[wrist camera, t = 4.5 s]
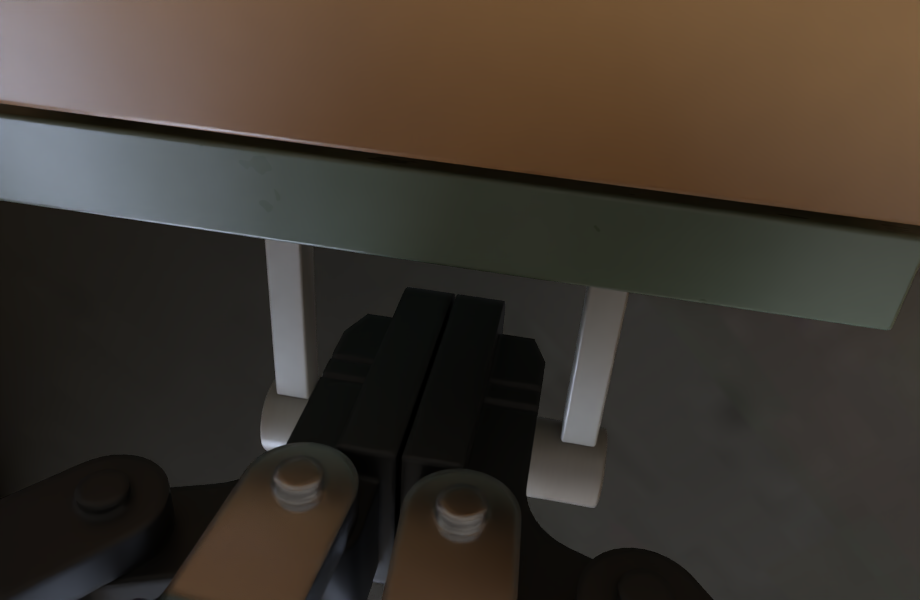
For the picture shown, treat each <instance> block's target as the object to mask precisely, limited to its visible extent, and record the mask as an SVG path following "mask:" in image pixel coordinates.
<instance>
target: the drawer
mask: <svg viewBox="0 0 920 600" xmlns="http://www.w3.org/2000/svg"><path fill="white" fill-rule="evenodd" d="M0 200H2V201H9V202H15V203H22V204H29V205H36V206H43V207H50V208H56V209H63V210H70V211H77V212H84V213H90V214H97V215H104V216H111V217H118V218H125V219H131V220H138V221H145V222H152V223H159V224H165V225H172V226H179V227H186V228H193V229H200V230H206V231H213V232H220V233H227V234H234V235H240V236H247V237H254V238H261V239H265V249H266V262H267V274H268V287H269V300H270V313H271V325H272V338H273V351H274V364H275V377H276V379H275V380H274V381H273V383H272V385H271V387H270V389H269V391H268V393H267V396H266V399H265V402H264V406H263V410H262V416H261V424H260V437H261V443H262V446H263V448H264V449H266V450H267V451H269V450H271V449H273V448H276V447H279V446H282V445H285V444H286V443H287V441H288V439H289V437H290V435H291V433H292V431H293V430H294V428H295V426H296V424H297V422H298V420H299V418H300V416H301V414H302V412H303V410H304V408H305V406H306V404H307V402H308V401H309V399H310V397H311V395H312V393H313V391H314V389H315V387H316V385H317V383H318V355H317V330H316V305H315V280H314V256H313V246H316V247H322V248H329V249H336V250H343V251H350V252H356V253H363V254H370V255H377V256H384V257H391V258H397V259H404V260H411V261H418V262H425V263H431V264H438V265H445V266H452V267H459V268H466V269H472V270H479V271H486V272H493V273H500V274H506V275H513V276H520V277H527V278H534V279H541V280H547V281H554V282H561V283H568V284H575V285H581V286H587V288H586V293H585V299H584V304H583V310H582V315H581V321H580V326H579V332H578V337H577V343H576V348H575V354H574V359H573V365H572V370H571V376H570V381H569V387H568V392H567V398H566V403H565V409H564V414H563V421H560V420H554V419H548V418H542V417H537V422H536V429H535V435H534V442H533V449H532V455H531V462H530V469H529V475H528V482H527V491H526V496H528V497H534V498H539V499H545V500H551V501H556V502H562V503H568V504H574V505H579V506H585V507H591V508H594V507H596V506H597V504H598V501H599V498H600V494H601V489H602V484H603V478H604V471H605V464H606V454H607V431H606V429H605V428H603V427H600V425H601V420H602V416H603V411H604V406H605V402H606V397H607V393H608V388H609V383H610V379H611V374H612V370H613V365H614V360H615V356H616V351H617V346H618V342H619V337H620V333H621V328H622V323H623V319H624V314H625V310H626V305H627V300H628V296H629V293H636V294H643V295H650V296H657V297H663V298H670V299H677V300H684V301H691V302H697V303H704V304H711V305H718V306H725V307H732V308H738V309H745V310H752V311H759V312H766V313H772V314H779V315H786V316H793V317H800V318H807V319H813V320H820V321H827V322H834V323H841V324H847V325H854V326H861V327H868V328H875V329H882V330H890V329H891V328H892V327H893V324H894V322H895V320H896V318H897V315H898V313H899V311H900V309H901V306H902V304H903V302H904V300H905V297H906V295H907V293H908V291H909V288H910V286H911V284H912V282H913V279H914V277H915V275H916V273H917V270H918V268H919V266H920V226H918V225H911V224H903V223H896V222H888V221H881V220H873V219H866V218H858V217H851V216H843V215H836V214H828V213H821V212H813V211H805V210H798V209H790V208H783V207H775V206H768V205H760V204H753V203H745V202H738V201H730V200H723V199H715V198H708V197H700V196H693V195H685V194H678V193H670V192H663V191H655V190H648V189H640V188H633V187H625V186H618V185H610V184H602V183H595V182H587V181H580V180H572V179H565V178H557V177H550V176H542V175H535V174H527V173H520V172H512V171H505V170H497V169H490V168H482V167H475V166H467V165H460V164H452V163H445V162H437V161H430V160H422V159H415V158H407V157H400V156H392V155H384V154H377V153H369V152H362V151H354V150H347V149H339V148H332V147H324V146H317V145H309V144H302V143H294V142H287V141H279V140H272V139H264V138H257V137H249V136H242V135H234V134H227V133H219V132H212V131H204V130H197V129H189V128H182V127H174V126H166V125H159V124H151V123H144V122H136V121H129V120H121V119H114V118H106V117H99V116H91V115H84V114H76V113H69V112H61V111H54V110H46V109H39V108H31V107H24V106H16V105H9V104H1V103H0Z"/></svg>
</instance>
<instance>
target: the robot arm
mask: <svg viewBox="0 0 920 600" xmlns="http://www.w3.org/2000/svg"><path fill="white" fill-rule="evenodd" d="M504 315H505V301H501V300H494V299H487V298H481V297H474V296H467V295H460V294H458V295H457V296H456V299H455V294H452V293H446V292H439V291H432V290H425V289H419V288H412V287H407V288H406V289H405V291H404V293H403V295H402V297H401V299H400V302H399V304H398V306H397V309H396V311H395V313H394V315H393V318H391V317H385V316H378V315H372V314H367V315H366V316H364V317H363V318H362V319H360V320H359V321H358V322H356V323H355V324H354V325H352V326H351V327H350V328H348V329H347V330H346V331H344V333H343V335H342V337H341V339H340V341H339V343H338V345H337V346H336V348H335V350H334V352H333V356H332V359H331V358H330V360H329V362H328V364H327V366H326V368H325V370H324V372H323V376H322V377H320V379H319V381H318V383H317V385H316V387H315V389H314V391H313V393H312V395H311V397H310V399H309V401H308V402H307V404H306V406H305V408H304V410H303V412H302V414H301V416H300V418H299V420H298V422H297V424H296V426H295V428H294V430H293V431H292V433H291V435H290V437H289V439H288V441H287V443H286V444H285V445H282V446H279V447H276V448H273V449H271V450H269V451H267V452H265V453H263V454H262V455H260V456H259V457H257V458H256V459H255V460H254V461H253V462H252V463H251V464H250V465H249V466H248V467H247V469H246V470H245V471H244V473H243V474H242V476H241V477H240V479H238V480H234V481H230V482H225V483H218V484H207V485H195V486H183V487H171V488H170V486H169V482H168V478H167V476H166V474H165V472H164V471H163V469H162V468H161V467H160V466H159V465H157V464H156V463H154V462H153V461H151V460H148V459H146V458H143V457H139V456H135V455H110V456H103V457H99V458H96V459H92V460H89V461H87V462H84V463H81V464H79V465H77V466H75V467H72V468H70V469H68V470H66V471H63V472H61V473H59V474H56V475H54V476H52V477H50V478H47V479H45V480H43V481H41V482H38V483H36V484H34V485H32V486H29V487H27V488H25V489H23V490H20V491H18V492H16V493H13V494H11V495H9V496H7V497H4V498H2V499H0V600H367V598H368V595H369V592H370V589H371V585H372V582H376V583H381V584H385V587H384V591H383V596H382V600H713V599H712V598H711V597H710V595H709V594H708V593H707V592H706V591H705V590H704V589H703V588H702V586H701V585H700V584H699V583H698V582H697V581H696V580H695V579H694V577H693V576H692V575H691V574H690V573H688V572H687V571H686V570H685V569H684V568H683V567H681V566H680V565H679V564H677V563H676V562H674V561H673V560H671V559H669V558H667V557H665V556H663V555H661V554H658V553H656V552H652V551H649V550H645V549H638V548H620V549H613V550H610V551H607V552H604V553H602V554H600V555H598V556H596V557H595V558H594V559H591V558H589V557H587V556H585V555H583V554H580V553H578V552H576V551H574V550H572V549H570V548H568V547H566V546H565V545H563V544H561V543H559V542H558V541H556V540H555V539H554V538H552V537H551V536H550V535H548V534H547V533H546V532H545V531H544V530H543V529H542V528H541V527H540V525H539V524H538V523H537V521H536V520H535V518H534V517H533V515H532V513H531V511H530V508H529V506H528V502H527V496H526V491H527V482H528V475H529V469H530V462H531V455H532V449H533V442H534V435H535V429H536V422H537V415H538V409H539V402H540V395H541V388H542V382H543V375H544V368H545V361H544V359H543V357H542V354H541V352H540V350H539V348H538V346H537V344H536V342H535V339H530V338H523V337H517V336H510V335H504V334H502V333H503V324H504Z"/></svg>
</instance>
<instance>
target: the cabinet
mask: <svg viewBox="0 0 920 600" xmlns="http://www.w3.org/2000/svg"><path fill="white" fill-rule="evenodd" d="M0 103H1V104H9V105H16V106H24V107H31V108H39V109H46V110H54V111H61V112H69V113H76V114H84V115H91V116H99V117H106V118H114V119H121V120H129V121H136V122H144V123H151V124H159V125H166V126H174V127H182V128H189V129H197V130H204V131H212V132H219V133H227V134H234V135H242V136H249V137H257V138H264V139H272V140H279V141H287V142H294V143H302V144H309V145H317V146H324V147H332V148H339V149H347V150H354V151H362V152H369V153H377V154H384V155H392V156H400V157H407V158H415V159H422V160H430V161H437V162H445V163H452V164H460V165H467V166H475V167H482V168H490V169H497V170H505V171H512V172H520V173H527V174H535V175H542V176H550V177H557V178H565V179H572V180H580V181H587V182H595V183H602V184H610V185H618V186H625V187H633V188H640V189H648V190H655V191H663V192H670V193H678V194H685V195H693V196H700V197H708V198H715V199H723V200H730V201H738V202H745V203H753V204H760V205H768V206H775V207H783V208H790V209H798V210H805V211H813V212H821V213H828V214H836V215H843V216H851V217H858V218H866V219H873V220H881V221H888V222H896V223H903V224H911V225H918V226H920V0H0Z"/></svg>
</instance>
